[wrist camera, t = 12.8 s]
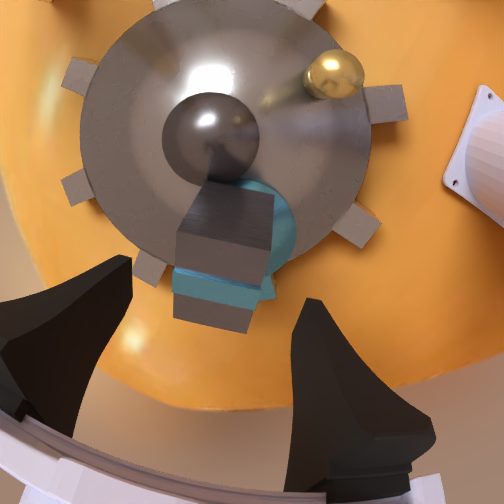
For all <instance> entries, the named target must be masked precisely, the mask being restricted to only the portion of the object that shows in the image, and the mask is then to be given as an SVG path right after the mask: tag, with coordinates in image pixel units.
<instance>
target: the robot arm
mask: <svg viewBox="0 0 504 504" xmlns="http://www.w3.org/2000/svg"><path fill="white" fill-rule="evenodd" d="M488 94H489V95H490V99H489V98H488ZM454 180H456V183H455V185H453V181H454ZM443 183H444V185H446V186H447V187H449V188H450V189H452V190H453V191H454V192H456V193H457V194H459V195H460V196H462V197H463V198H465V199H466V200H467V201H469V202H470V203H472V204H473V205H474V206H476V207H477V208H478V209H480V210H481V211H482V212H484V213H485V214H486V215H488V216H489V217H490V218H492V219H493V220H494V221H495V222H497V223H498V224H499V225H500V226H502V227H503V228H504V102H503V101H502V100H501V99H500V98H499V97H498V96H497V95H496V94H495V93H494V92H493V91H492V90H491V89H490V88H488V87H487V86H486V85H480V86H479V88H478V90H477V93H476V96H475V99H474V102H473V105H472V108H471V111H470V113H469V116H468V119H467V121H466V124H465V126H464V129H463V131H462V134H461V136H460V139H459V141H458V144H457V146H456V148H455V151H454V153H453V155H452V158H451V160H450V162H449V164H448V166H447V169H446V171H445V173H444V175H443ZM132 298H133V288H132V258H131V257H127V256H123V255H117V256H114V257H112V258H110V259H108V260H107V261H105V262H103V263H101V264H99V265H97V266H95V267H93V268H92V269H90V270H88V271H86V272H84V273H82V274H80V275H78V276H76V277H74V278H72V279H70V280H68V281H66V282H64V283H62V284H59V285H57V286H55V287H52V288H50V289H47V290H44V291H42V292H39V293H36V294H32V295H29V296H26V297H23V298H19V299H15V300H10V301H6V302H1V303H0V467H1V468H2V469H4V470H5V471H6V472H8V473H9V474H11V475H12V476H13V477H15V478H16V479H18V480H19V481H21V482H23V483H24V484H26V487H25V489H24V492H23V495H22V497H21V500H20V503H19V504H446V503H445V497H444V492H443V487H442V482H441V477H440V474H439V473H433V474H429V475H424V476H419V477H416V478H412V479H410V480H409V476H408V473H410V472H412V465H411V462H413V461H414V460H416V459H417V458H418V457H420V456H421V455H422V454H424V453H425V452H427V451H428V450H429V449H430V448H431V447H432V446H433V445H434V443H435V441H436V435H435V432H434V428H433V425H432V421H431V418H430V417H428V416H427V415H425V414H424V413H422V412H421V411H419V410H418V409H416V408H415V407H413V406H412V405H410V404H409V403H407V402H406V401H405V400H403V399H402V398H401V397H400V396H398V395H397V394H396V393H395V392H393V391H392V390H391V389H390V388H389V387H388V386H387V385H386V384H385V383H384V382H382V381H381V380H380V379H379V378H378V377H377V376H376V375H375V374H374V373H373V372H372V370H371V369H370V368H369V367H368V366H367V365H366V364H365V363H364V362H363V360H362V359H361V358H360V357H359V356H358V354H357V353H356V352H355V350H354V349H353V348H352V346H351V345H350V344H349V342H348V341H347V339H346V338H345V337H344V335H343V334H342V332H341V331H340V329H339V328H338V326H337V325H336V323H335V321H334V320H333V318H332V317H331V315H330V313H329V312H328V310H327V309H326V307H325V305H324V304H323V302H322V301H321V300H316V299H311V298H306V301H305V303H304V306H303V308H302V311H301V313H300V316H299V318H298V321H297V323H296V325H295V328H294V330H293V333H292V341H291V370H292V386H293V423H292V435H291V445H290V453H289V460H288V468H287V474H286V480H285V485H284V491H283V492H277V491H276V492H275V491H263V490H253V489H245V488H237V487H230V486H223V485H218V484H212V483H207V482H201V481H197V480H191V479H187V478H183V477H179V476H175V475H171V474H167V473H164V472H160V471H156V470H153V469H149V468H146V467H143V466H140V465H137V464H134V463H131V462H128V461H125V460H122V459H120V458H117V457H114V456H111V455H109V454H106V453H104V452H101V451H99V450H96V449H94V448H92V447H89V446H87V445H85V444H82V443H80V442H78V441H76V440H74V439H72V437H73V432H74V428H75V424H76V420H77V416H78V413H79V409H80V406H81V403H82V400H83V397H84V394H85V391H86V388H87V385H88V383H89V380H90V378H91V375H92V373H93V370H94V368H95V366H96V363H97V361H98V359H99V357H100V355H101V354H102V352H103V350H104V349H105V347H106V345H107V344H108V342H109V340H110V339H111V337H112V335H113V334H114V332H115V330H116V329H117V327H118V325H119V324H120V322H121V321H122V319H123V317H124V315H125V313H126V311H127V309H128V307H129V304H130V302H131V300H132Z"/></svg>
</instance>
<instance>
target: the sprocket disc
mask: <svg viewBox="0 0 504 504" xmlns="http://www.w3.org/2000/svg"><path fill="white" fill-rule="evenodd" d="M326 1H327V0H277V1H274V0H152V2H153V5H154V9H155V11H154V12H152V13H150V14H149V15H147V16H146V17H144V18H143V19H141V20H139V21H138V22H137V23H135V24H134V25H133V26H132V27H131V28H129V29H128V30H127V31H126V32H125V33H124V34H123V35H122V36H121V37H120V38H119V39H118V40H117V41H116V42H115V43H114V44H113V46H112V47H111V48H110V49H109V50H108V52H107V53H106V55H105V56H104V58H103V59H102V61H101V62H100V63H98V62H95V61H92V60H89V59H87V58H77V57H72V60H71V62H70V64H69V67H68V69H67V72H66V74H65V77H64V79H63V82H62V84H61V87H64V88H66V89H69V90H71V91H73V92H76V93H78V94H80V95H83V96H85V99H84V103H83V108H82V113H81V122H80V149H81V156H82V161H83V167H84V168H83V169H81V170H79V171H77V172H75V173H73V174H71V175H69V176H67V177H65V178H63V179H61V182H62V185H63V187H64V190H65V192H66V195H67V197H68V200H69V202H70V205H71V207H72V206H74V205H76V204H79V203H81V202H84V201H86V200H88V199H91V198H93V197H95V198H96V200H97V202H98V204H99V205H100V207H101V209H102V210H103V212H104V213H105V215H106V216H107V217H108V218H109V220H110V221H111V222H112V224H113V225H114V226H115V227H116V228H117V229H118V230H119V231H120V232H121V233H122V234H123V235H124V236H125V237H126V238H127V239H128V240H129V241H131V242H132V243H133V244H134V245H136V246H137V247H138V248H140V251H139V253H138V256H137V258H136V261H135V264H134V266H133V269H132V275H134V276H135V277H137V278H139V279H141V280H142V281H144V282H146V283H148V284H150V285H152V286H153V287H155V288H156V287H157V285H158V283H159V281H160V279H161V278H162V276H163V274H164V272H165V270H166V268H167V266H168V264H169V265H172V266H174V267H175V248H176V231H177V229H178V227H179V226H180V224H181V222H182V220H183V219H184V217H185V215H186V213H187V212H188V210H189V208H190V206H191V205H192V203H193V201H194V200H195V198H196V196H197V194H198V193H199V191H200V189H201V188H202V186H203V184H204V183H205V181H206V180H207V181H212V182H217V183H222V184H227V185H232V186H237V187H242V188H246V189H251V190H256V191H260V192H265V193H269V194H273V195H275V198H274V215H273V231H272V247H271V254H270V257H269V261H268V264H267V267H266V271H265V274H264V277H263V281H262V284H261V287H260V288H261V293H260V297H259V300H258V301H264V300H270V299H275V298H276V281H275V277H274V272H276V271H277V270H278V269H280V268H281V267H282V266H283V265H284V264H285V263H287V262H289V261H291V260H293V259H295V258H296V257H298V256H300V255H302V254H304V253H305V252H307V251H308V250H309V249H311V248H312V247H314V246H315V245H317V244H318V243H319V242H320V241H321V240H322V239H324V238H325V237H326V236H327V235H328V234H329V233H330V232H331V231H332V230H333V231H335V232H336V233H338V234H339V235H341V236H342V237H344V238H345V239H347V240H348V241H350V242H352V243H353V244H355V245H356V246H358V247H359V248H361V249H362V248H363V247H364V245H365V244H366V243H367V242H368V240H369V239H370V238H371V237H372V235H373V234H374V233H375V231H376V230H377V229H378V228H379V226H380V225H381V224H382V223H381V222H380V221H379V219H378V218H377V217H376V216H375V214H374V213H373V212H371V211H370V210H368V209H367V208H366V207H364V206H363V205H362V204H360V203H359V202H357V201H356V200H355V198H356V196H357V194H358V192H359V189H360V187H361V185H362V183H363V179H364V176H365V173H366V170H367V167H368V162H369V155H370V149H371V124H376V123H384V122H393V121H402V120H408V115H407V109H406V104H405V98H404V93H403V88H402V85H389V86H377V87H367V88H363V83H364V70H363V67H362V65H361V63H360V62H359V60H358V59H357V58H356V57H355V56H354V55H352V54H351V53H349V52H347V51H344V50H343V49H342V48H341V47H340V46H339V44H338V43H337V42H336V41H335V40H334V39H333V38H332V37H331V36H330V34H329V33H327V32H326V31H325V30H324V29H323V28H322V27H320V26H319V25H318V24H317V23H315V22H314V21H313V19H314V17H315V16H316V15H317V13H318V12H319V10H320V9H321V8H322V6H323V5H324V4H325V2H326Z"/></svg>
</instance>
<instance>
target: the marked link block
mask: <svg viewBox="0 0 504 504" xmlns="http://www.w3.org/2000/svg"><path fill="white" fill-rule="evenodd" d="M274 198H275V195H273V194H269V193H265V192H260V191H256V190H251V189H246V188H242V187H237V186H232V185H227V184H222V183H217V182H212V181H207V180H206V181H205V183H204V184H203V186H202V188H201V189H200V191H199V193H198V194H197V196H196V198H195V200H194V201H193V203H192V205H191V206H190V208H189V210H188V212H187V213H186V215H185V217H184V219H183V220H182V222H181V224H180V226H179V227H178V229H177V231H176V248H175V269H173V271H172V292H173V293H174V302H173V318H177V319H181V320H185V321H189V322H193V323H198V324H202V325H206V326H211V327H215V328H220V329H225V330H230V331H234V332H239V333H244V334H246V333H247V330H248V327H249V324H250V320H251V317H252V314H253V311H254V310H256V306H257V303H258V300H259V297H260V293H261V288H260V287H261V284H262V281H263V277H264V274H265V271H266V267H267V264H268V261H269V257H270V254H271V247H272V231H273V215H274Z"/></svg>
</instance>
